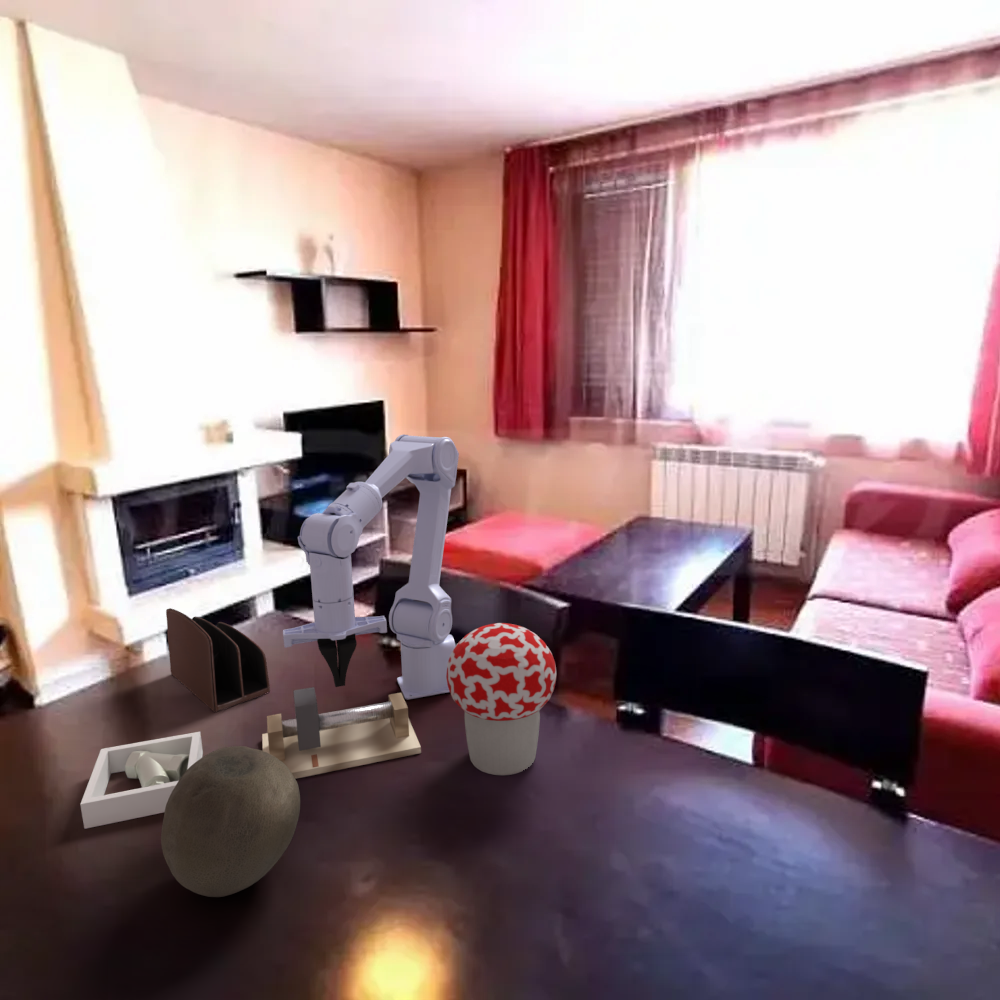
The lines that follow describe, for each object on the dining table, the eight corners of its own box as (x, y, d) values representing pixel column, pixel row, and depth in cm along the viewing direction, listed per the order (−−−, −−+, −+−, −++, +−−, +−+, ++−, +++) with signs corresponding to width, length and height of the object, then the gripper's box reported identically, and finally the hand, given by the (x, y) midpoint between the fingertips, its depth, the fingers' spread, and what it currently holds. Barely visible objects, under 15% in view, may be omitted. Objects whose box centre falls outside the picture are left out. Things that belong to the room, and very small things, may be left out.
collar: (317, 728, 106) (314, 686, 104) (320, 746, 101) (317, 703, 100) (297, 732, 105) (293, 690, 104) (299, 750, 100) (295, 707, 99)
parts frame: (202, 752, 104) (200, 731, 103) (196, 805, 92) (193, 781, 91) (104, 770, 100) (101, 749, 99) (84, 828, 88) (80, 804, 87)
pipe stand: (404, 713, 114) (403, 681, 113) (421, 752, 103) (419, 717, 102) (262, 739, 107) (259, 705, 106) (264, 785, 96) (260, 747, 95)
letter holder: (214, 714, 115) (205, 634, 112) (170, 675, 129) (161, 603, 126) (271, 693, 122) (264, 617, 119) (223, 658, 136) (216, 589, 133)
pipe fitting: (165, 805, 93) (194, 772, 99) (160, 781, 92) (190, 748, 98) (111, 800, 94) (143, 767, 101) (106, 776, 93) (138, 744, 99)
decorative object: (497, 804, 91) (494, 663, 87) (427, 754, 103) (422, 626, 98) (578, 758, 101) (579, 628, 97) (506, 716, 113) (505, 599, 108)
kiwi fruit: (225, 949, 70) (210, 817, 67) (143, 893, 77) (125, 772, 74) (329, 861, 81) (320, 746, 78) (249, 820, 89) (237, 713, 86)
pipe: (403, 710, 109) (402, 695, 108) (406, 718, 106) (406, 703, 106) (268, 735, 102) (267, 719, 102) (268, 744, 100) (267, 728, 99)
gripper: (281, 613, 94) (289, 705, 97) (388, 598, 99) (393, 687, 102) (279, 595, 100) (287, 682, 103) (380, 583, 105) (384, 666, 108)
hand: (339, 683), depth 103 cm, fingers closed
